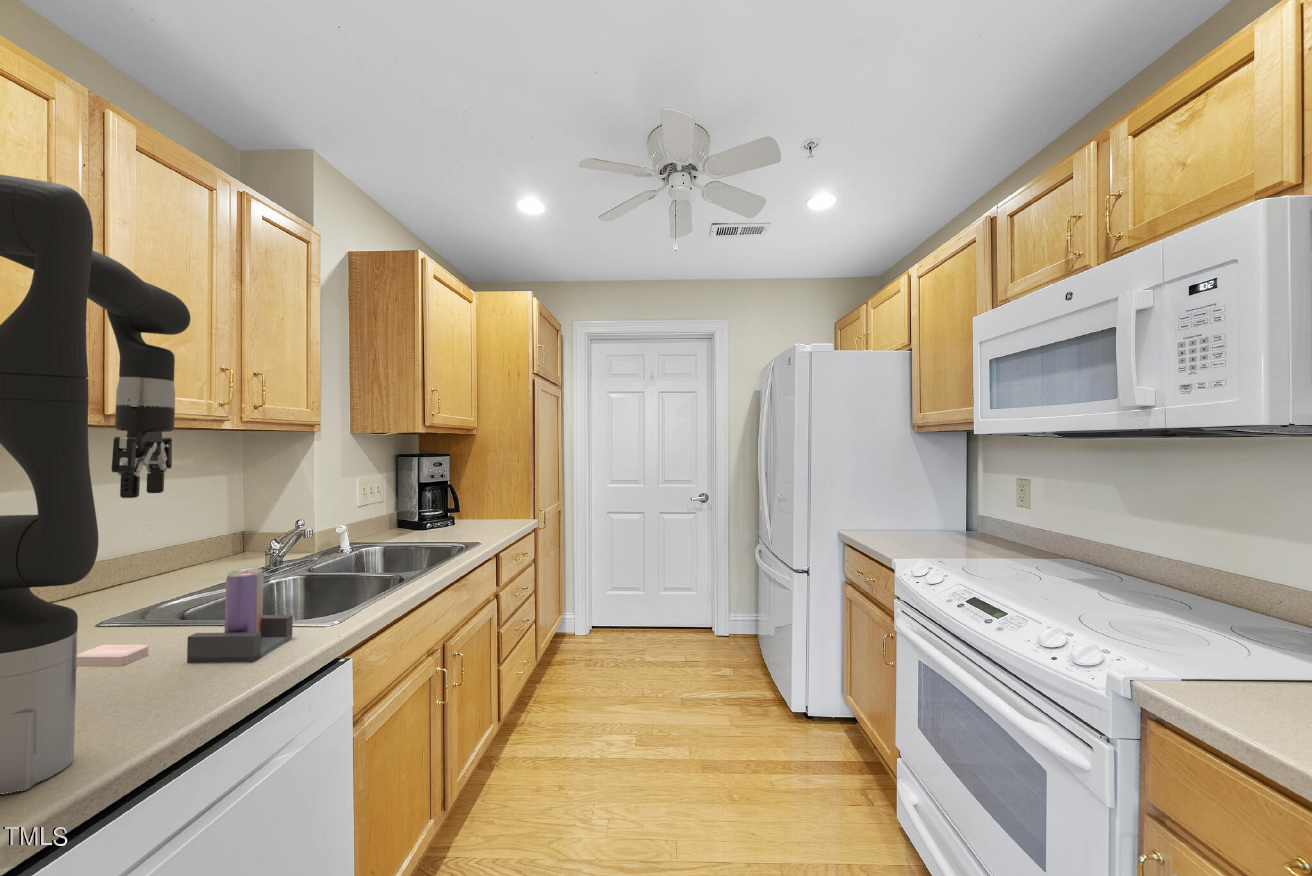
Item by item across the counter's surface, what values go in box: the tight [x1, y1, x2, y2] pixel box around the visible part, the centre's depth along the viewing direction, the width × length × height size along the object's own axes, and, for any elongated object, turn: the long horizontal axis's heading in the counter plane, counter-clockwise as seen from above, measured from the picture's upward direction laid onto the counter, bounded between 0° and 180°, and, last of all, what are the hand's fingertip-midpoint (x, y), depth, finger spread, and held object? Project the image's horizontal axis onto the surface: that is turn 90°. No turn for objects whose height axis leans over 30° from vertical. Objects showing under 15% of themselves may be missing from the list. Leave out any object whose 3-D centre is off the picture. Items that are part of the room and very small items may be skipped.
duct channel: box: [186, 614, 294, 664], centre depth 105 cm, size 12×12×5 cm
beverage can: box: [223, 567, 264, 639], centre depth 105 cm, size 6×6×15 cm
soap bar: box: [76, 644, 149, 667], centre depth 99 cm, size 5×9×2 cm, turn 92°
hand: (142, 495), depth 92 cm, fingers open, 8 cm apart
